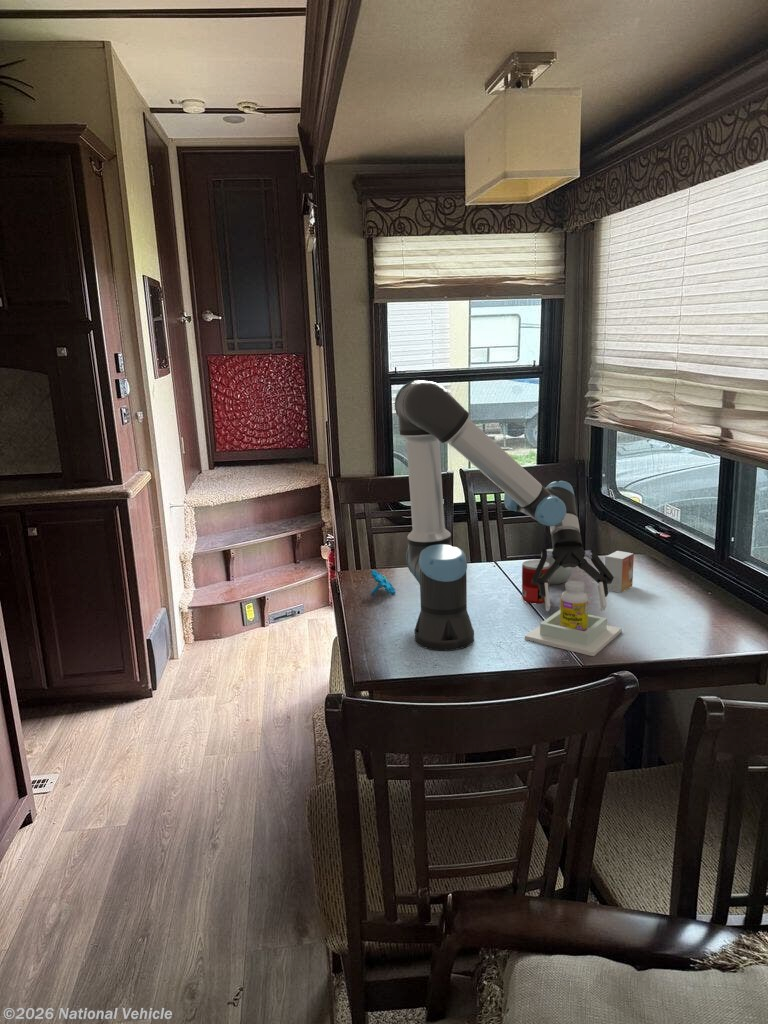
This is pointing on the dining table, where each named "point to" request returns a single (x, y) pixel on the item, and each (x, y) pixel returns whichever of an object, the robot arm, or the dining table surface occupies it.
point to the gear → (382, 582)
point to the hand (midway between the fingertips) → (576, 608)
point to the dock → (575, 635)
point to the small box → (620, 570)
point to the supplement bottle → (574, 606)
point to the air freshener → (558, 572)
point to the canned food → (528, 589)
